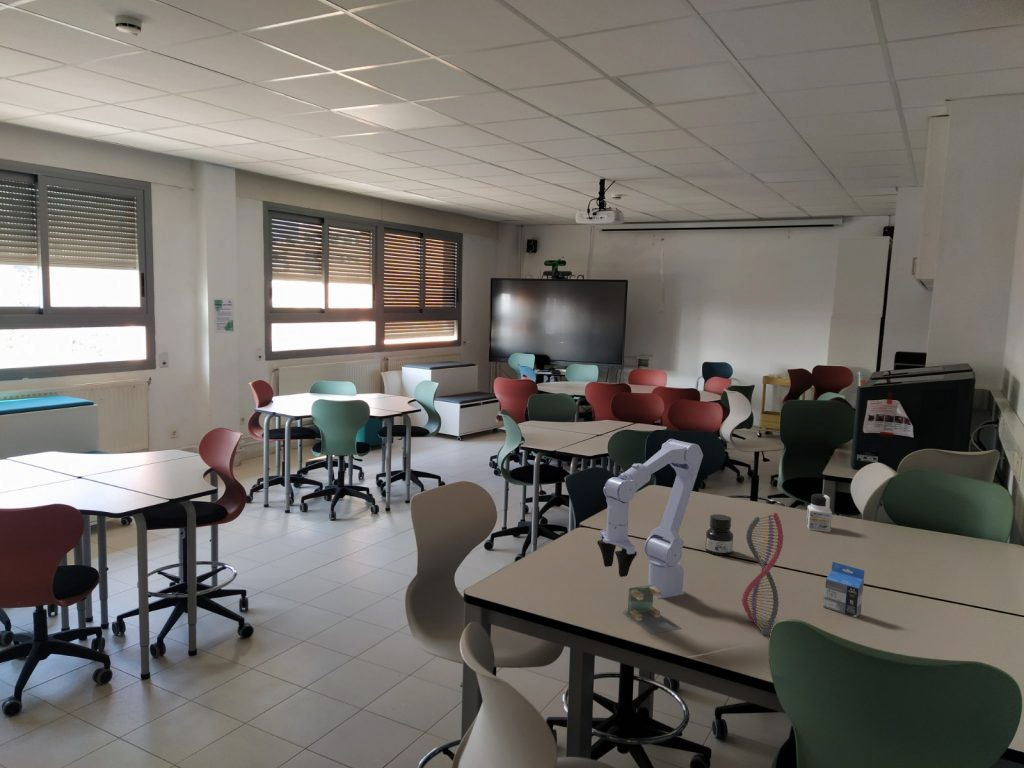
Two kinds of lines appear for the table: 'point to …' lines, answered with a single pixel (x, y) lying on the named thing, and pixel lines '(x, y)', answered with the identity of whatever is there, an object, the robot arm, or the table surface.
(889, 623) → the table surface
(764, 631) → the dna model
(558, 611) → the table surface
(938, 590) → the table surface
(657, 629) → the mat
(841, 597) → the ink cartridge box
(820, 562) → the table surface
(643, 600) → the stool
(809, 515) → the container
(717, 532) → the ink bottle
